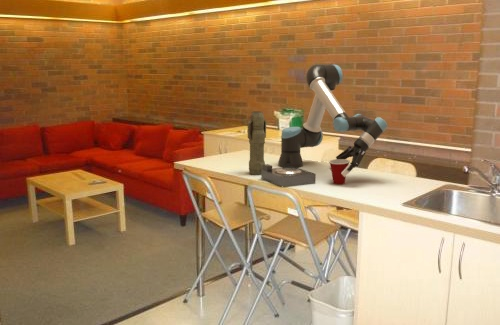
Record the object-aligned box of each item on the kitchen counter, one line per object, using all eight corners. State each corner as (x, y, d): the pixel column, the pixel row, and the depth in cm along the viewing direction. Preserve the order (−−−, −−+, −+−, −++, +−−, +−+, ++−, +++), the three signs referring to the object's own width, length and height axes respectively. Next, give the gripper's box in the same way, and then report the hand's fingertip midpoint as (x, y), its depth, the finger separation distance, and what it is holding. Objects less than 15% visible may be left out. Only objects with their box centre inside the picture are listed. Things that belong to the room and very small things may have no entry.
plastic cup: (324, 181, 256) (324, 159, 254) (342, 180, 260) (342, 158, 258) (334, 186, 246) (335, 162, 244) (353, 184, 250) (354, 161, 248)
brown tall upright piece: (243, 173, 275) (243, 111, 269) (258, 170, 283) (259, 110, 277) (254, 176, 269) (254, 112, 262) (269, 173, 277) (270, 111, 270)
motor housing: (261, 178, 263) (261, 164, 261) (292, 175, 272) (293, 161, 270) (282, 187, 244) (282, 171, 242) (315, 183, 253) (315, 168, 251)
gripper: (381, 151, 243) (353, 182, 241) (356, 144, 266) (330, 172, 264) (372, 141, 240) (343, 172, 238) (347, 134, 264) (321, 163, 262)
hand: (336, 172), depth 251 cm, fingers open, 13 cm apart
